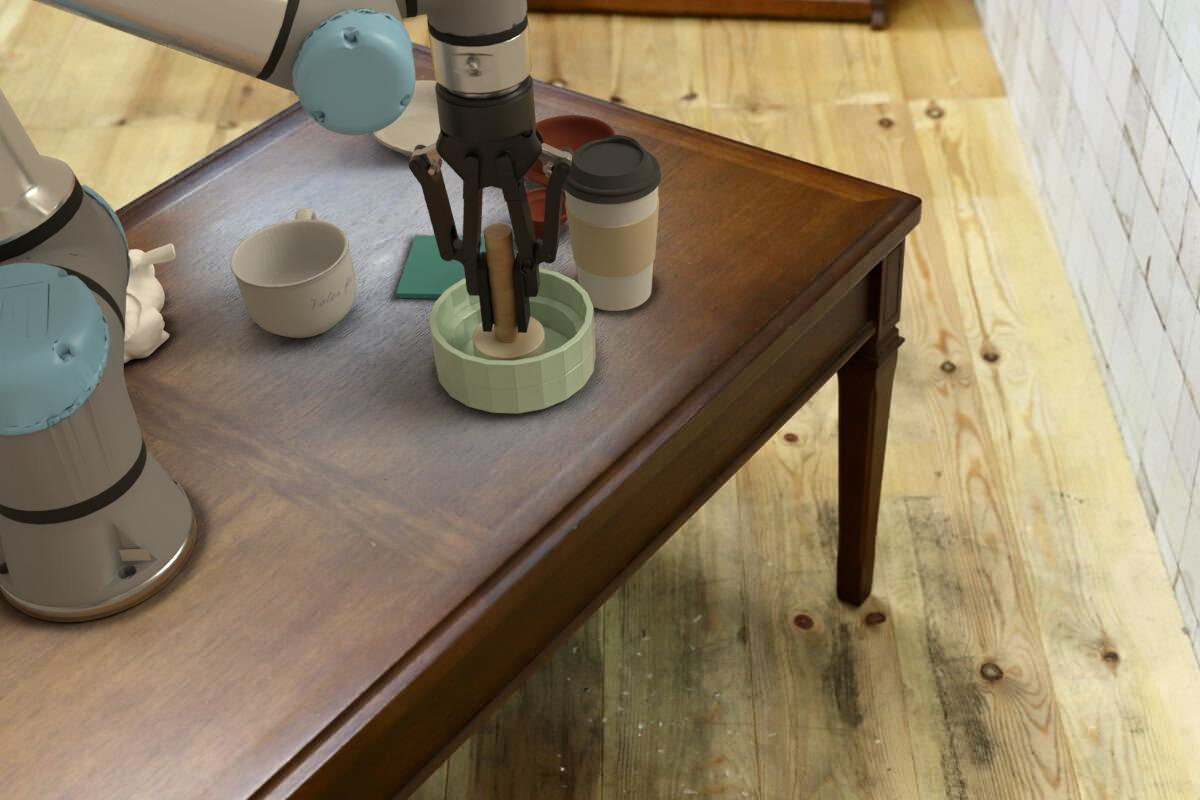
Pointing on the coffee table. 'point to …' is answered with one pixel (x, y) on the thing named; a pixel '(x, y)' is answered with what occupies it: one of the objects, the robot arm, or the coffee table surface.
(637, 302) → the coffee cup
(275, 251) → the teacup
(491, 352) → the wooden peg
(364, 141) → the coffee table surface
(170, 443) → the coffee table surface
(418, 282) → the mat
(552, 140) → the pottery
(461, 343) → the bowl
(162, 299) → the rabbit figurine
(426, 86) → the pottery shard
